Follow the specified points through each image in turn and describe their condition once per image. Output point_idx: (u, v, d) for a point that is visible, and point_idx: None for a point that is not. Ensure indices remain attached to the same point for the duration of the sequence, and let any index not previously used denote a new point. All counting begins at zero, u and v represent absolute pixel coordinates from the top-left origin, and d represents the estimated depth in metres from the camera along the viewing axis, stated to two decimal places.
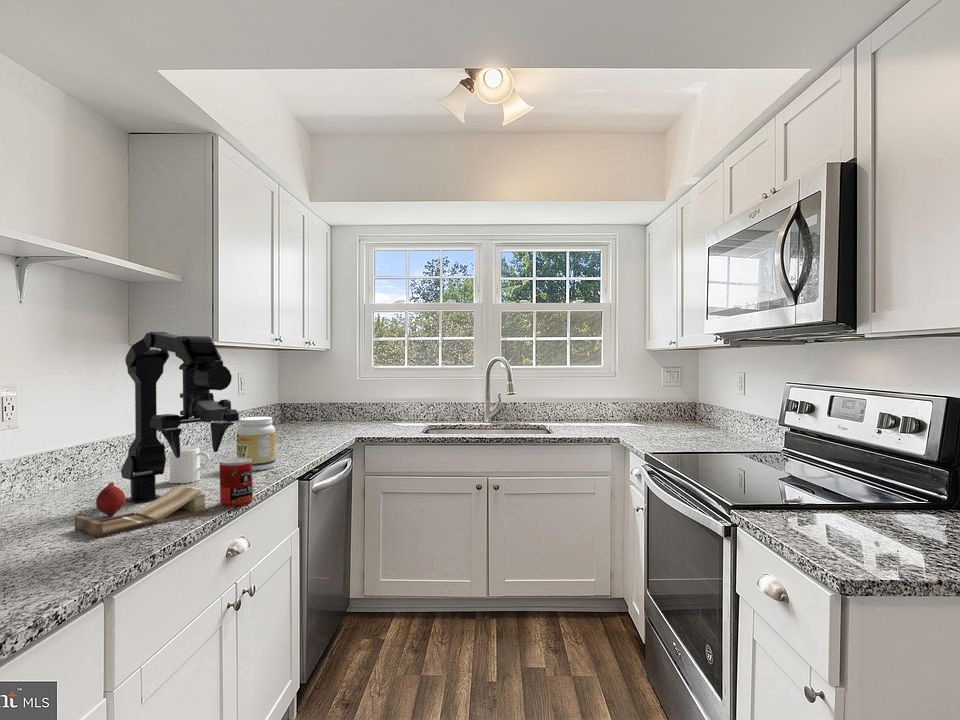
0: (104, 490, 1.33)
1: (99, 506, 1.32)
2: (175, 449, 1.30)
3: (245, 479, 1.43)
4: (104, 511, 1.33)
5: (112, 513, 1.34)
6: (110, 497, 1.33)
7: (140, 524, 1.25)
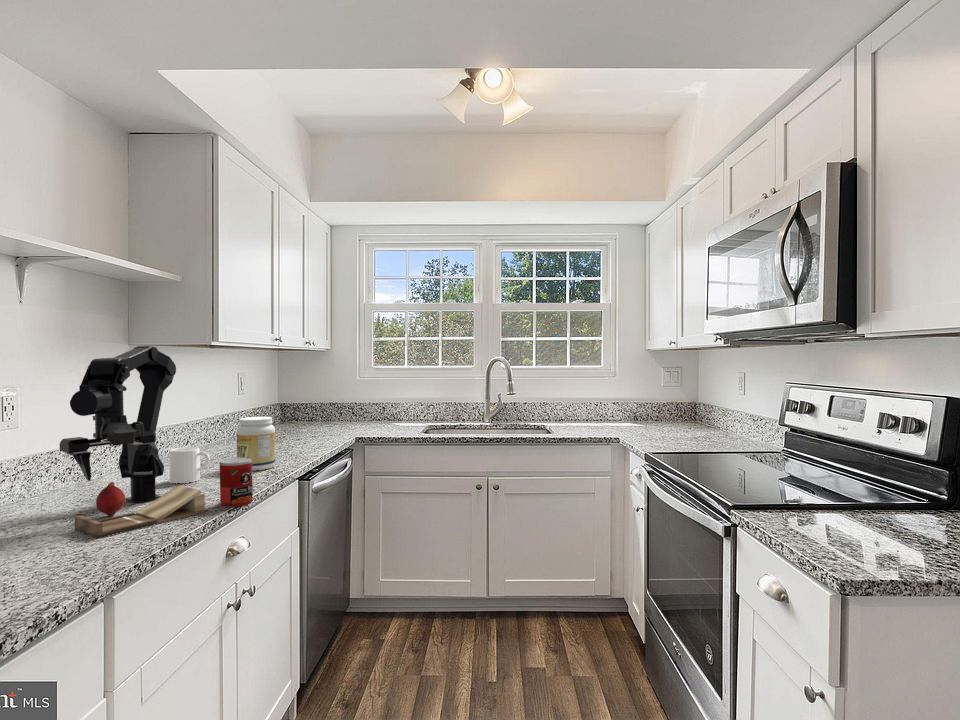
0: (104, 490, 1.33)
1: (99, 506, 1.32)
2: (85, 472, 1.30)
3: (245, 479, 1.43)
4: (104, 511, 1.33)
5: (112, 513, 1.34)
6: (110, 497, 1.33)
7: (140, 524, 1.25)
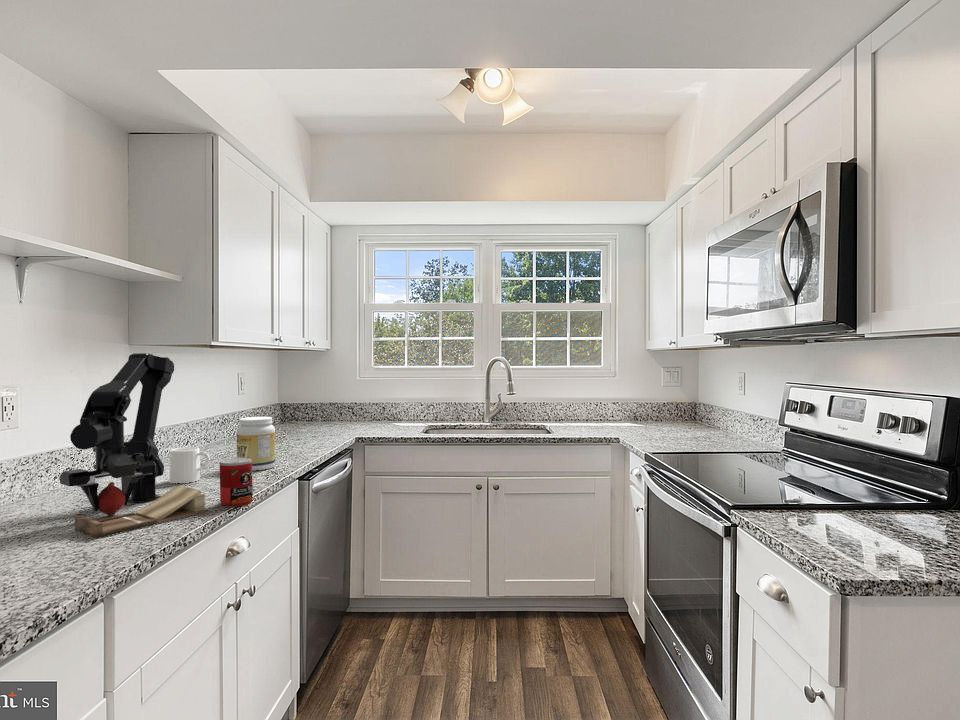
0: (104, 490, 1.33)
1: (99, 506, 1.32)
2: (93, 503, 1.31)
3: (245, 479, 1.43)
4: (104, 511, 1.33)
5: (112, 513, 1.34)
6: (110, 497, 1.33)
7: (140, 524, 1.25)
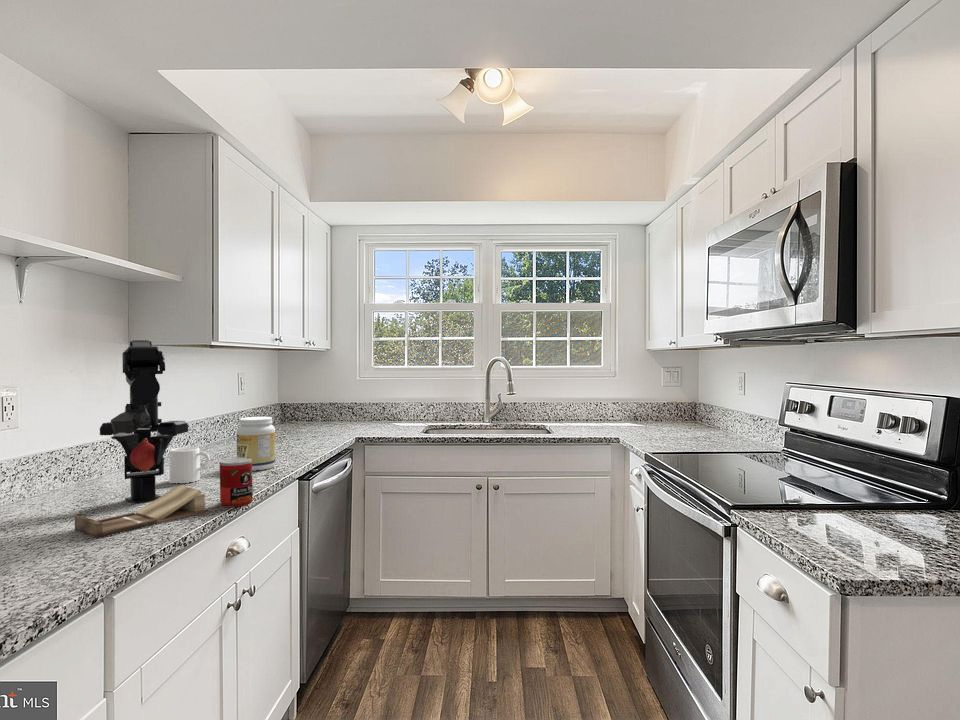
0: (137, 445, 1.35)
1: None
2: None
3: (245, 479, 1.43)
4: None
5: (140, 469, 1.34)
6: (133, 452, 1.33)
7: (140, 524, 1.25)
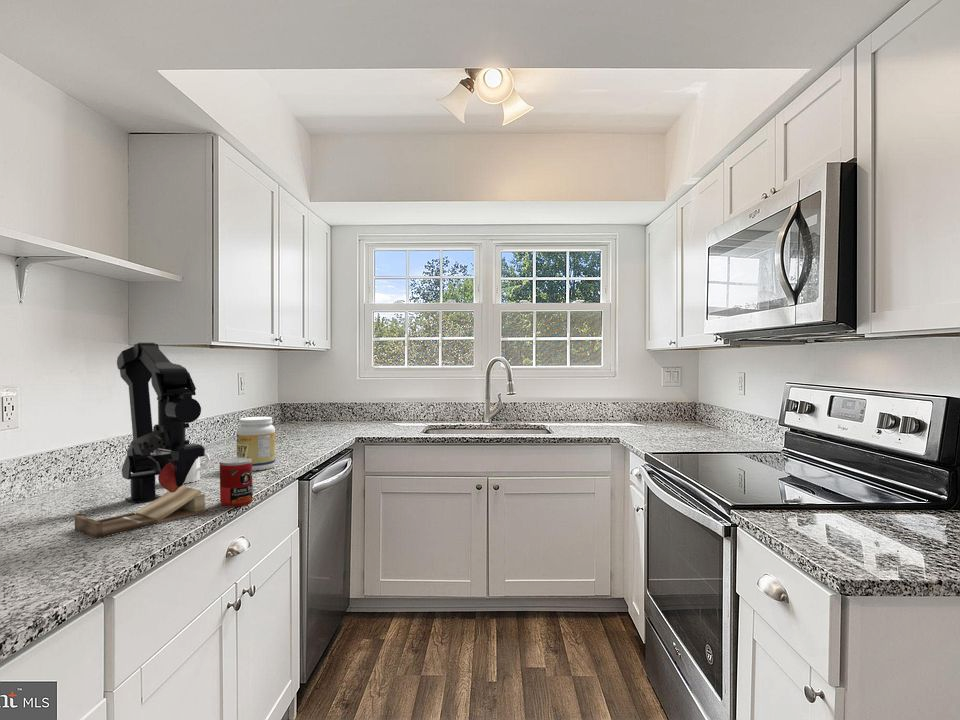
0: None
1: None
2: None
3: (245, 479, 1.43)
4: None
5: None
6: (160, 472, 1.35)
7: (140, 524, 1.25)
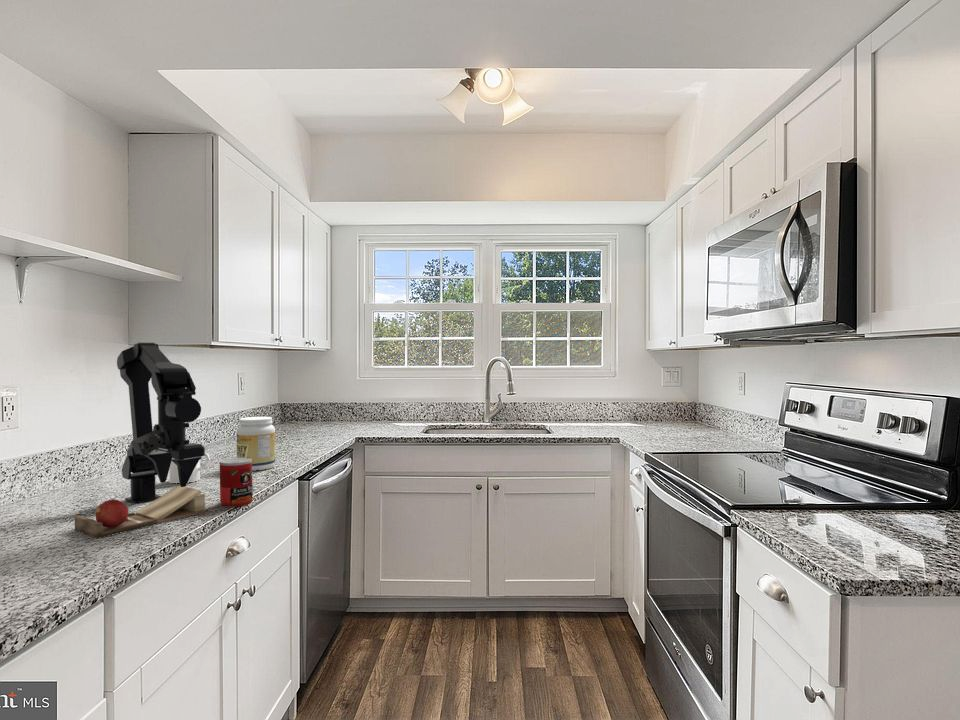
0: None
1: None
2: None
3: (245, 479, 1.43)
4: (107, 501, 1.22)
5: (105, 506, 1.21)
6: (125, 505, 1.25)
7: (140, 524, 1.25)
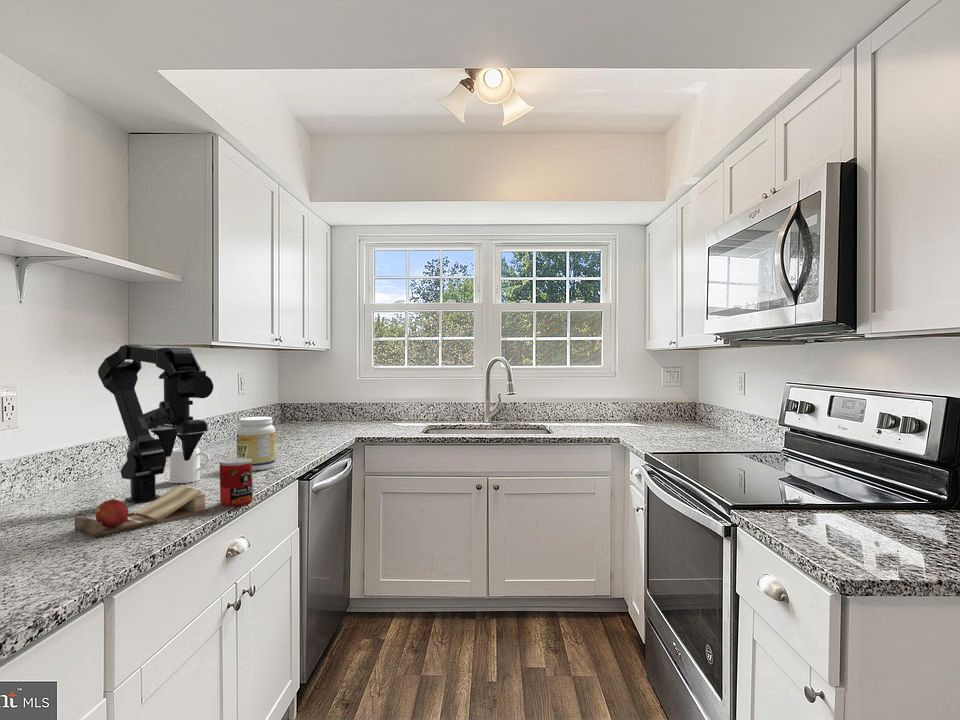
0: None
1: None
2: None
3: (245, 479, 1.43)
4: (107, 501, 1.22)
5: (105, 506, 1.21)
6: (125, 505, 1.25)
7: (140, 524, 1.25)
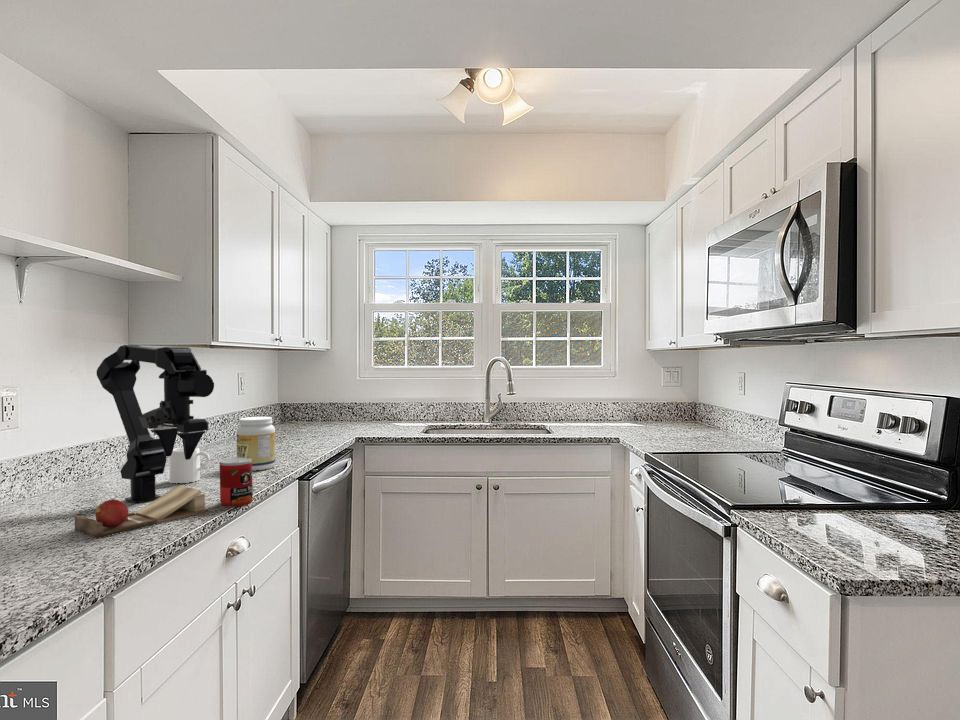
0: None
1: None
2: None
3: (245, 479, 1.43)
4: (107, 501, 1.22)
5: (105, 506, 1.21)
6: (125, 505, 1.25)
7: (140, 524, 1.25)
